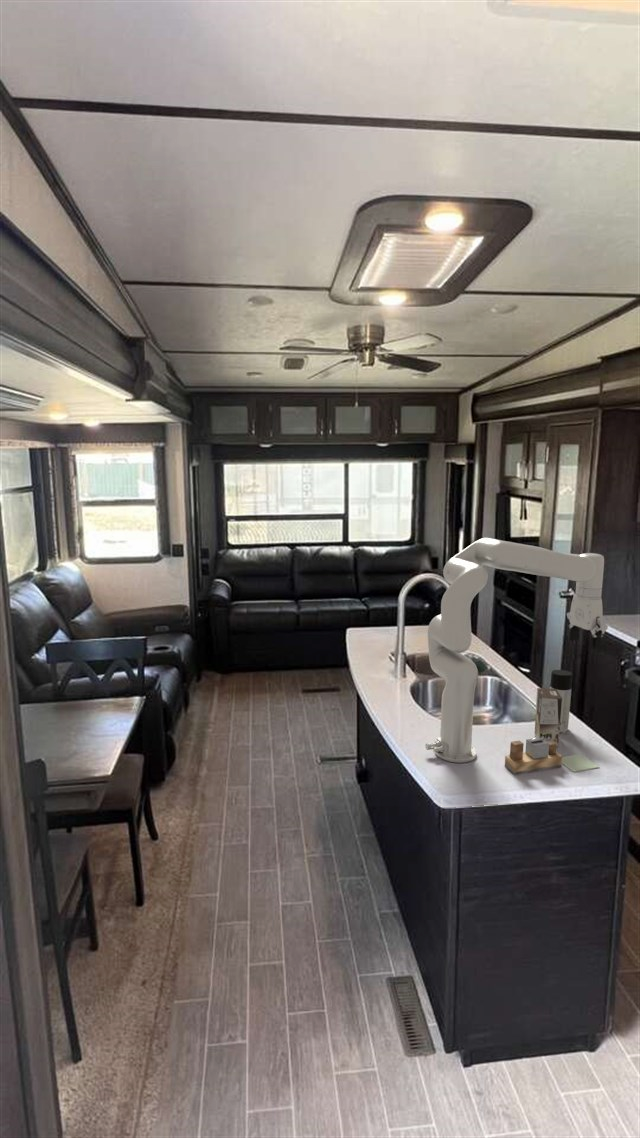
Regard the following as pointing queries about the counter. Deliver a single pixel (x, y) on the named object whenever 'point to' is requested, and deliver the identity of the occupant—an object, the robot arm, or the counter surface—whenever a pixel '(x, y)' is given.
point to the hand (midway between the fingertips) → (584, 644)
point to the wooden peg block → (525, 764)
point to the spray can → (563, 694)
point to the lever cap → (537, 748)
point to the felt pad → (578, 763)
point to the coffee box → (548, 714)
